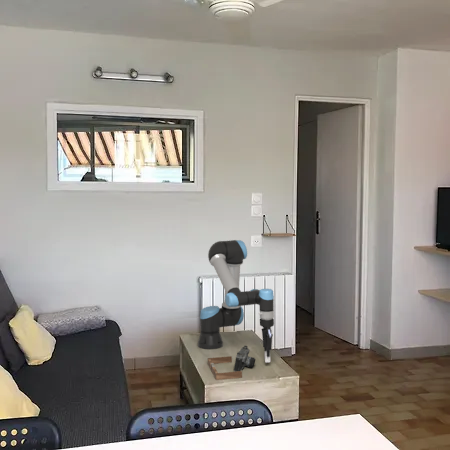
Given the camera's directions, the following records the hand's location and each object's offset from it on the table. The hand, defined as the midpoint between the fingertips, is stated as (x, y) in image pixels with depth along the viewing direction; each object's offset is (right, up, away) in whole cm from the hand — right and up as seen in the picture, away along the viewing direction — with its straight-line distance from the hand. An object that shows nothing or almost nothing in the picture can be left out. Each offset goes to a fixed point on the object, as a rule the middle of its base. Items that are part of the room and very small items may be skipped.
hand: (267, 361), depth 277 cm
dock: (-23, -3, -4) cm, 23 cm away
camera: (-12, -3, -1) cm, 12 cm away
